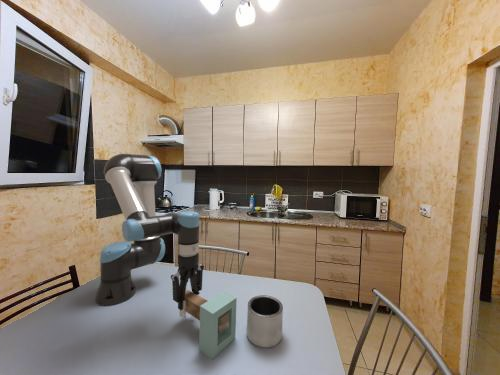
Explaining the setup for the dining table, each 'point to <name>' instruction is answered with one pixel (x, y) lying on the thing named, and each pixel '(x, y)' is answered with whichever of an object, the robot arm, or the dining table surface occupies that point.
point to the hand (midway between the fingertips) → (187, 313)
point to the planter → (264, 321)
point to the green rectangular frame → (216, 324)
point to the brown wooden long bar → (194, 309)
